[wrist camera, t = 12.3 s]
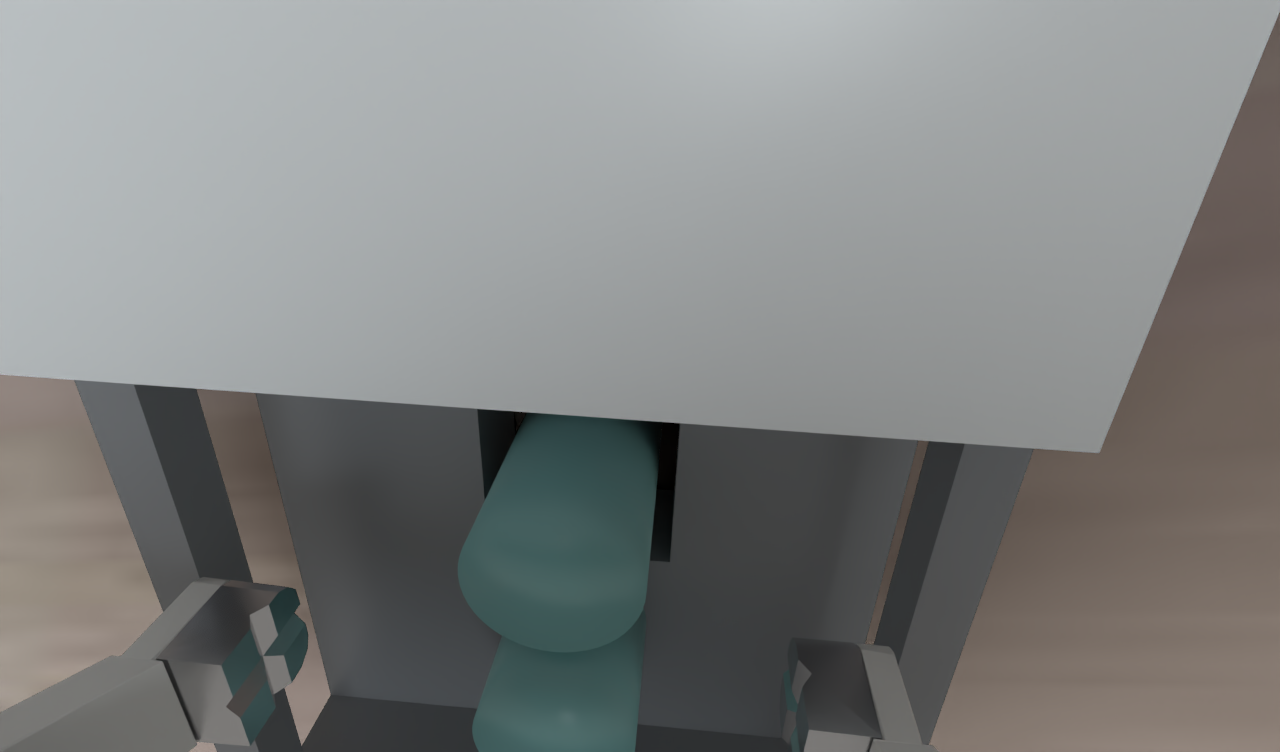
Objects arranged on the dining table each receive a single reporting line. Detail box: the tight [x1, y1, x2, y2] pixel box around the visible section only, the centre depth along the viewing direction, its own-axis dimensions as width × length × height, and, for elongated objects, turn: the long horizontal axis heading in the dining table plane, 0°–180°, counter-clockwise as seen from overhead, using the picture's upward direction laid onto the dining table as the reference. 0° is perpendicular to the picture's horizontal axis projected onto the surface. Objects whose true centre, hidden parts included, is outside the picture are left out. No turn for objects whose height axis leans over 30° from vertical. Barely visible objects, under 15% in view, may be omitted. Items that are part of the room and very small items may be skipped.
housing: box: [74, 380, 1034, 752], centre depth 12 cm, size 15×30×9 cm, turn 178°
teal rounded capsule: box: [458, 412, 663, 653], centre depth 15 cm, size 4×4×6 cm
